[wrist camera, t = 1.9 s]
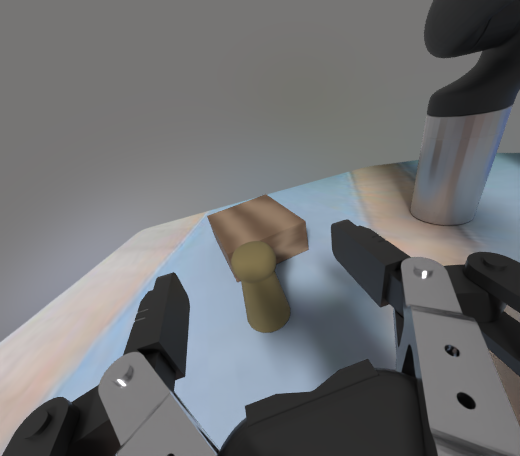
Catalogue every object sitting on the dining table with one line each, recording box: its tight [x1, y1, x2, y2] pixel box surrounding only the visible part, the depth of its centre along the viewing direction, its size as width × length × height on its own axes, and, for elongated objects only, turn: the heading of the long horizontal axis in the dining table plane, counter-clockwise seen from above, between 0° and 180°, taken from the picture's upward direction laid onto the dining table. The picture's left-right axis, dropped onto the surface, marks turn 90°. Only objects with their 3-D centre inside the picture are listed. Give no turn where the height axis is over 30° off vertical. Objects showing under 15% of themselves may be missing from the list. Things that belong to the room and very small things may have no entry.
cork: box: [231, 241, 290, 333], centre depth 27 cm, size 6×6×11 cm
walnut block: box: [207, 195, 308, 282], centre depth 43 cm, size 14×16×6 cm
